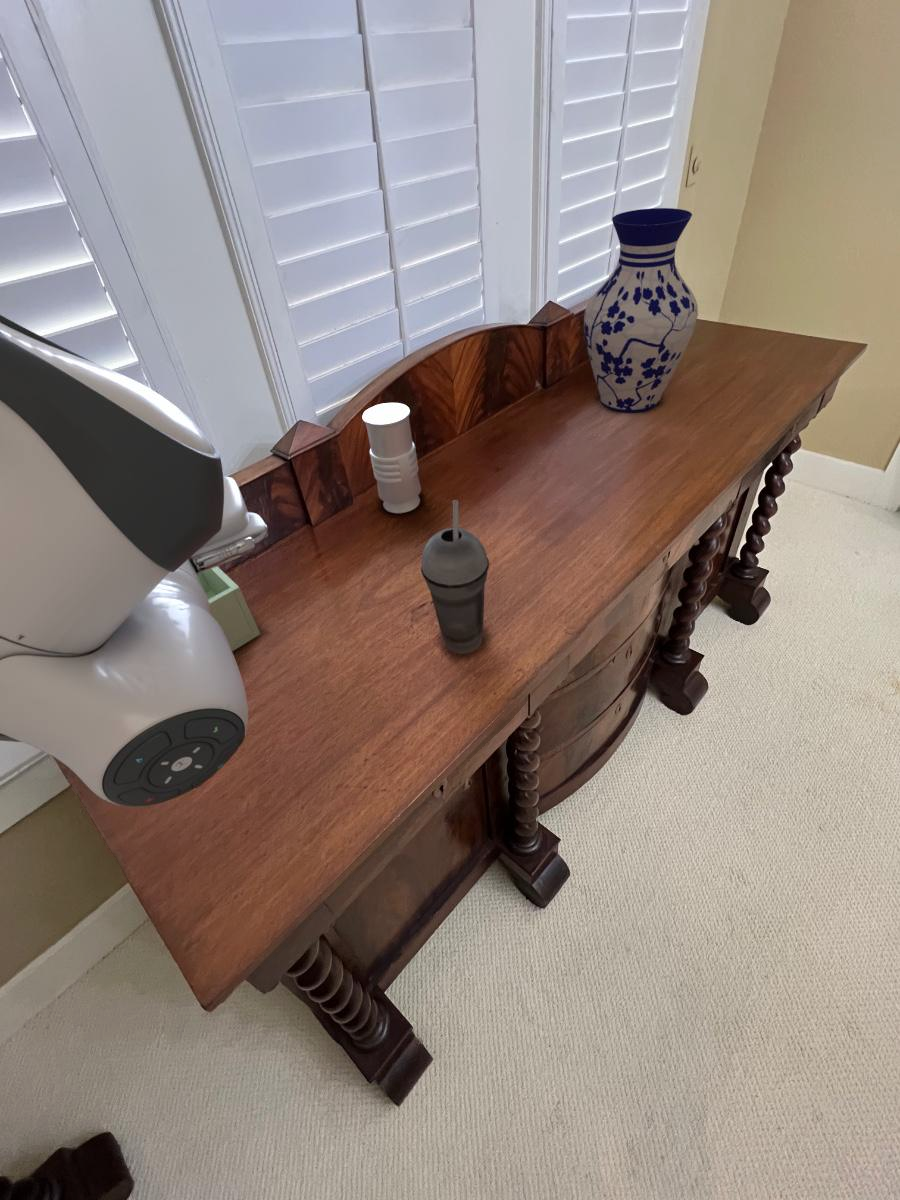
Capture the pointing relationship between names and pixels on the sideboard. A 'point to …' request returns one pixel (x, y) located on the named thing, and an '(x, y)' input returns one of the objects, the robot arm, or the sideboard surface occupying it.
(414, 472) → the white ribbed cylinder
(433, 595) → the beverage cup
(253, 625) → the bin
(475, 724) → the sideboard surface
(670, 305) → the vase
